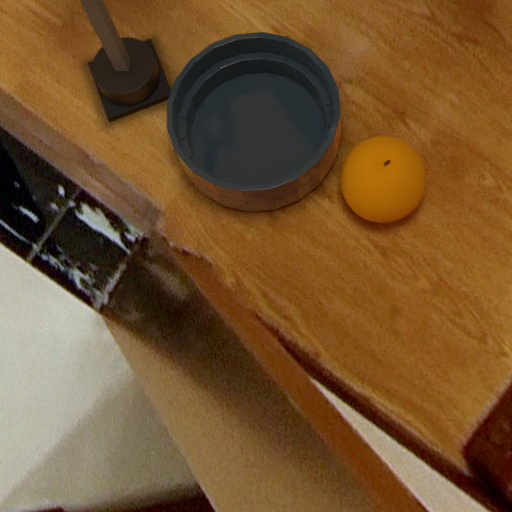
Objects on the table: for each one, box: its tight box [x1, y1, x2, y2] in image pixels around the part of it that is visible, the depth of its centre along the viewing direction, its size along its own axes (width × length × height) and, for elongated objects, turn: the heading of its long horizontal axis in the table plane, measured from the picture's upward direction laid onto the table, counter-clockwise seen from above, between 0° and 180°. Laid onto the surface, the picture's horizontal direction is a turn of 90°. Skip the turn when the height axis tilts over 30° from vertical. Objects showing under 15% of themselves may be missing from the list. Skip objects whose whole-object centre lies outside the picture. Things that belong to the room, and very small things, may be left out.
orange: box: [339, 135, 427, 224], centre depth 79 cm, size 8×8×8 cm
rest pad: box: [87, 38, 172, 123], centre depth 88 cm, size 7×7×1 cm
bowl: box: [166, 31, 342, 212], centre depth 83 cm, size 16×16×6 cm
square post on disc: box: [79, 0, 160, 106], centre depth 77 cm, size 6×6×24 cm
